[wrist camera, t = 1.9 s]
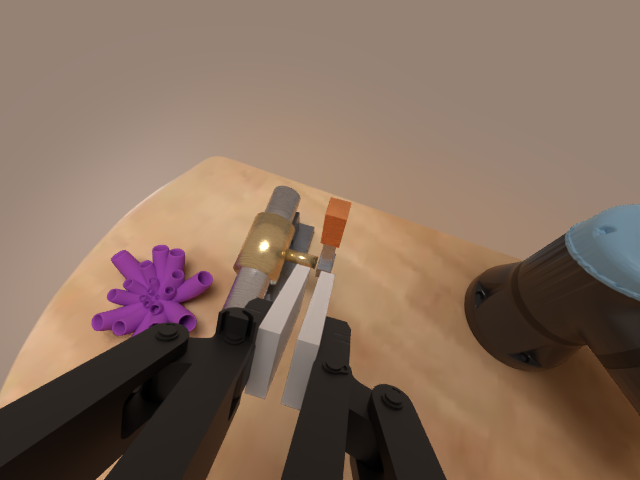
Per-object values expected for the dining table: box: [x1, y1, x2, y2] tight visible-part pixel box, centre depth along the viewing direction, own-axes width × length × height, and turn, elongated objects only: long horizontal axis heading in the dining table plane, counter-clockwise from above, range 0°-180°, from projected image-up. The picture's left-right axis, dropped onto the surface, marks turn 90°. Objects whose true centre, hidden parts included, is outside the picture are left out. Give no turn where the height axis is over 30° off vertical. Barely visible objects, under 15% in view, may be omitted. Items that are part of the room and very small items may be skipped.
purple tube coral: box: [92, 245, 213, 337], centre depth 40 cm, size 11×15×10 cm
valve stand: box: [222, 186, 318, 310], centre depth 42 cm, size 18×10×11 cm, turn 165°
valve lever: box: [315, 197, 351, 277], centre depth 35 cm, size 3×2×14 cm
